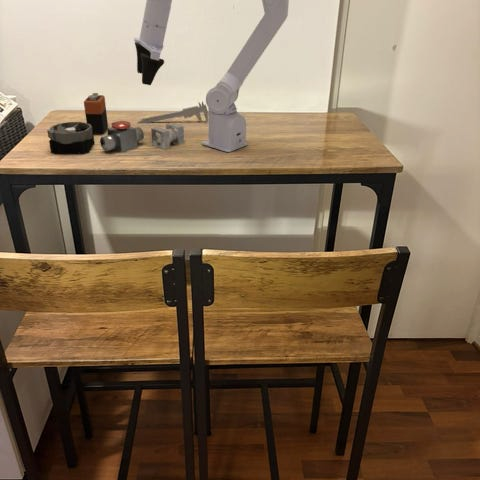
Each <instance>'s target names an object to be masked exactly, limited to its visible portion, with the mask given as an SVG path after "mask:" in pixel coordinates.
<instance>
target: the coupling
mask: <svg viewBox="0 0 480 480" xmlns="http://www.w3.org/2000/svg"><path fill="white" fill-rule="evenodd" d="M184 128H185V127H184V125H182V124H181V125H180V124H178V123H173V122H169V123H165V128H163V127H159V126H155V127H152V128H150V131H151V132H150V133H151V143H152V145H151V146H152V147H156V148H157V149H158V148H159V149H162V150H164V151H165V150H168V149H171V144H174V145H178V146H180V145H182V144H183V145H184V144H185V133H184V132H185V131H184Z"/></svg>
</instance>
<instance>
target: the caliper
mask: <svg viewBox="0 0 480 480" xmlns="http://www.w3.org/2000/svg"><path fill="white" fill-rule="evenodd" d="M197 103H198V105H193V106H189V107H184V108H182V110H178V111H177V110H176V111H171V112H168V113H167V112H165V113H162V114H156V115H151V116H147V117H142V118H141V119H140V120H138V121H137V123H136V124H141V123H142V124H150V123H155V122H160V121H164V120H169V119H174V118H181V117H184V119H188V118H192V117H193V116H195V117H196V118H197V119H198V122H199V123H202V122H203V121H202V116H201V113H203V115H204V118H205V121H206V122H205V123H208V106H207V104H206V103H205V104H204V101H201V102H199V101H198V102H197Z"/></svg>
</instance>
